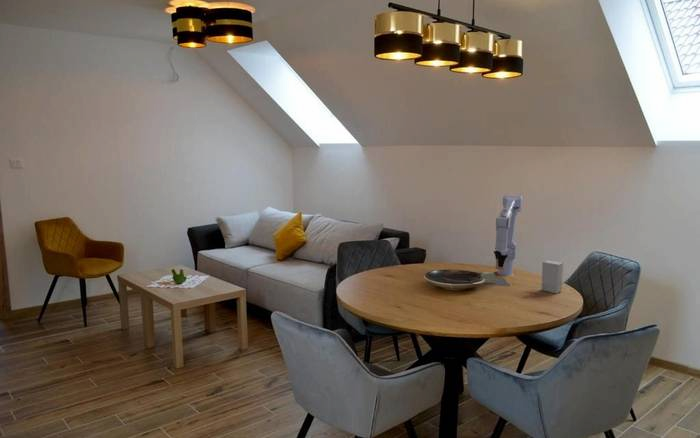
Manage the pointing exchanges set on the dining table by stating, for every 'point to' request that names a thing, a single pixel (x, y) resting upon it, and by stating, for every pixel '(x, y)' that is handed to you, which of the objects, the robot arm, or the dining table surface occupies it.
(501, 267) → the rounded pink dome
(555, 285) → the skincare box
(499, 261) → the robot arm
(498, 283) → the charcoal mat
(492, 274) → the sage slab
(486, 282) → the birch slab
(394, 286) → the dining table surface
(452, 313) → the dining table surface
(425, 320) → the dining table surface
